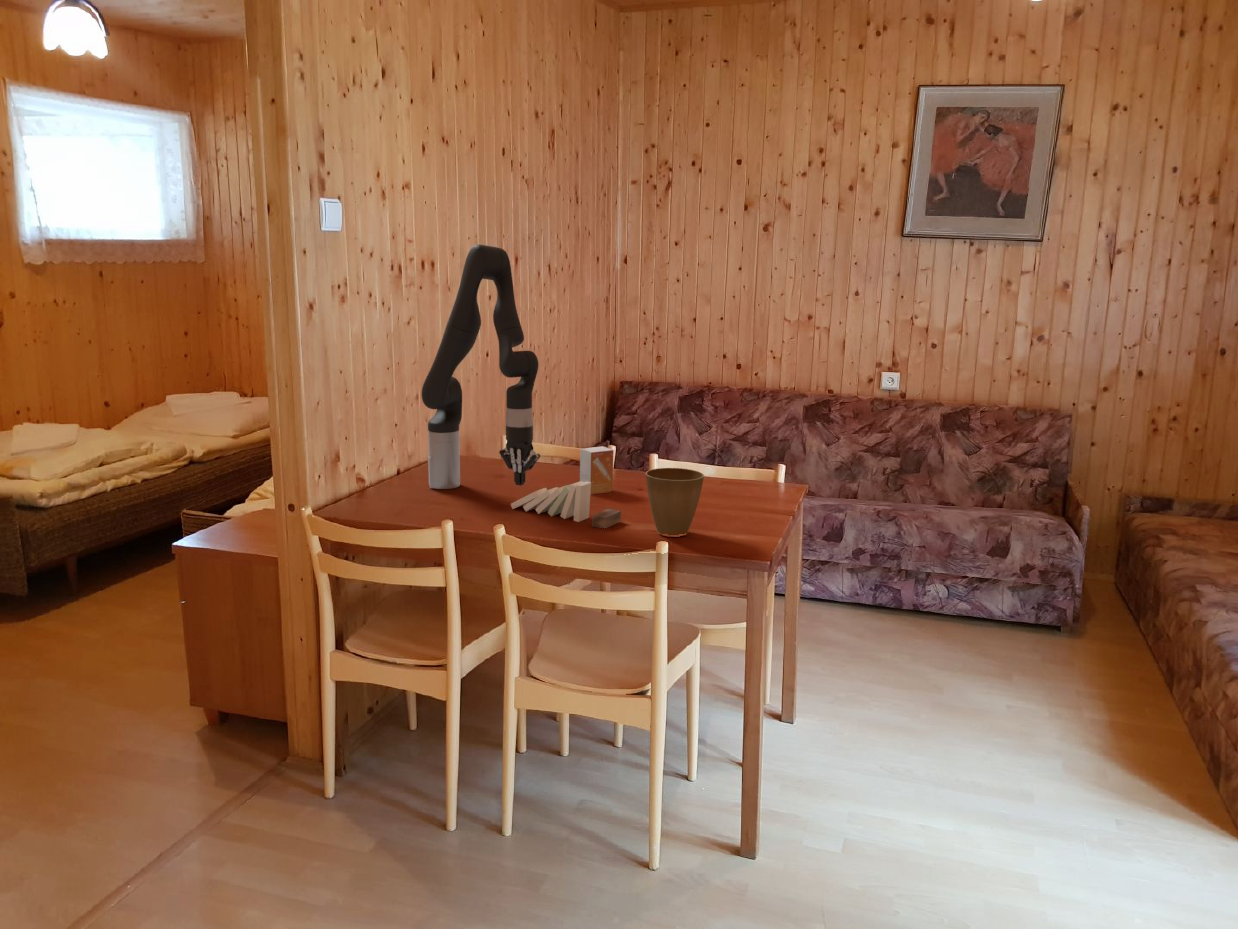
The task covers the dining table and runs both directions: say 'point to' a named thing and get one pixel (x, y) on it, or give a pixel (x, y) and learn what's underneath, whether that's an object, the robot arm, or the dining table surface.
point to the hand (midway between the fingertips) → (519, 484)
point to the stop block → (606, 518)
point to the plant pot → (673, 498)
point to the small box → (597, 468)
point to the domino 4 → (559, 502)
